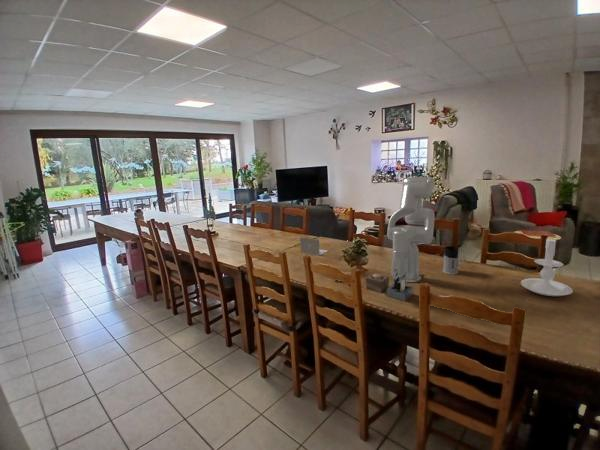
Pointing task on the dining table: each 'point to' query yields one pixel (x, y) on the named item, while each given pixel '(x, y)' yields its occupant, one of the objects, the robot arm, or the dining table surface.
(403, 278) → the filter cartridge
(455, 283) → the dining table surface
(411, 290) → the cartridge housing
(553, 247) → the candlestick
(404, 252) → the robot arm
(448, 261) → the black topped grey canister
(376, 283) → the grey square box
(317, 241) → the laptop
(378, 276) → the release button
